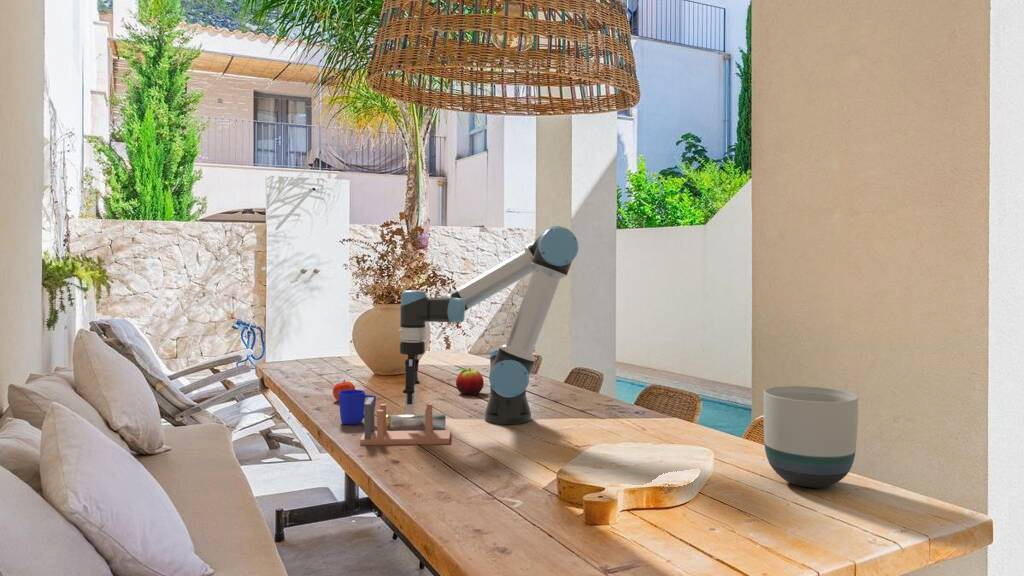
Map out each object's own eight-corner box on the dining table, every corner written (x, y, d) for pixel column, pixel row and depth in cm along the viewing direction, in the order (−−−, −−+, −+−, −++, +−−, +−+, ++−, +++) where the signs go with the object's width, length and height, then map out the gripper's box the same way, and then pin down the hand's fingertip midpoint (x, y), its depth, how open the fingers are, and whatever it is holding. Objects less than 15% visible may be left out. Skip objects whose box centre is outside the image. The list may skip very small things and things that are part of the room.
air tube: (445, 417, 227) (445, 411, 223) (445, 433, 225) (445, 427, 220) (380, 418, 226) (378, 412, 222) (379, 434, 223) (377, 428, 219)
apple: (360, 400, 271) (360, 378, 271) (344, 404, 264) (344, 382, 264) (344, 398, 275) (344, 376, 275) (328, 401, 268) (328, 379, 268)
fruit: (482, 396, 279) (482, 370, 279) (454, 396, 279) (454, 370, 279) (484, 391, 290) (484, 366, 290) (456, 391, 290) (456, 366, 290)
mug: (370, 427, 228) (370, 395, 228) (334, 425, 231) (334, 393, 230) (380, 421, 236) (380, 390, 236) (345, 419, 239) (345, 389, 238)
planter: (849, 504, 158) (851, 405, 157) (752, 488, 169) (754, 395, 168) (861, 480, 176) (863, 391, 175) (773, 467, 186) (774, 383, 185)
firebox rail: (450, 435, 218) (450, 396, 218) (449, 443, 209) (449, 403, 208) (364, 436, 217) (364, 397, 216) (360, 444, 207) (359, 404, 206)
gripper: (403, 336, 237) (402, 401, 238) (396, 345, 212) (395, 418, 213) (426, 336, 237) (425, 401, 238) (422, 346, 212) (421, 418, 213)
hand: (411, 410), depth 225 cm, fingers open, 13 cm apart
